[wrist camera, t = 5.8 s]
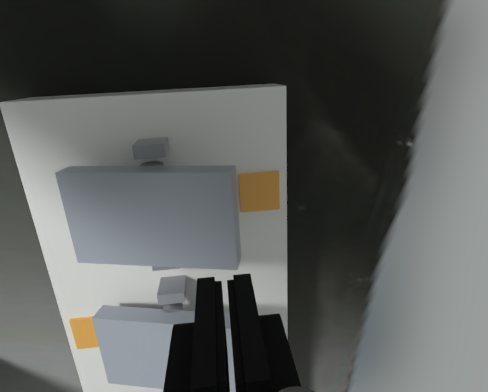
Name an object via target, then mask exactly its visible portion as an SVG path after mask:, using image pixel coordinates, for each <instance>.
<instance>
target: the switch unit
mask: <svg viewBox="0 0 488 392" xmlns="http://www.w3.org/2000/svg"><path fill="white" fill-rule="evenodd" d="M0 108H1V112H2V115H3V119H4V122H5V125H6V129H7V132H8V136H9V139H10V142H11V146H12V149H13V153H14V156H15V160H16V163H17V166H18V170H19V173H20V177H21V180H22V183H23V187H24V190H25V194H26V197H27V201H28V204H29V207H30V211H31V214H32V218H33V221H34V224H35V228H36V231H37V235H38V238H39V242H40V245H41V248H42V252H43V255H44V259H45V262H46V265H47V269H48V272H49V276H50V279H51V283H52V286H53V289H54V293H55V296H56V300H57V303H58V306H59V310H60V313H61V317H62V320H63V324H64V327H65V330H66V334H67V337H68V341H69V344H70V347H71V351H72V354H73V358H74V361H75V364H76V368H77V371H78V375H79V378H80V382H81V385H82V388H83V392H163V389H157V388H148V387H139V386H129V385H120V384H111V383H108V380H107V376H106V372H105V368H104V364H103V360H102V356H101V352H100V348H99V344H98V340H97V336H96V333H95V329H94V325H93V321H92V317H93V316H94V315H95V314H96V313H97V311H98V310H99V309H100V308H101V307H102V305H110V306H124V307H139V308H153V309H163V306H164V305H166V304H175V303H182V304H183V310H184V311H195V303H196V287H197V278H206V277H215V281H222V293H223V304H224V313H226V314H230V313H229V300H228V287H227V280H233V275H238V274H249V273H250V275H251V280H252V285H253V290H254V295H255V300H256V305H257V310H258V315H269V314H278V313H279V314H280V316H281V319H282V322H283V326H284V329H285V333H286V336H287V340H288V314H287V125H286V86H284V85H279V84H275V83H274V84H256V85H238V86H221V87H203V88H185V89H168V90H150V91H132V92H115V93H97V94H80V95H62V96H44V97H30V98H23V99H17V100H11V101H5V102H0ZM151 161H161V162H163V163H164V166H213V165H236V178H237V195H238V211H239V228H240V245H241V260H240V264H239V267H238V270H222V269H201V268H180V267H158V266H137V265H116V264H95V263H78V262H77V258H76V254H75V250H74V246H73V242H72V238H71V234H70V230H69V226H68V223H67V219H66V215H65V211H64V207H63V203H62V199H61V195H60V191H59V187H58V183H57V179H56V175H55V172H58V171H60V170H62V169H64V168H67V167H69V166H140V165H141V164H142V163H146V162H151Z"/></svg>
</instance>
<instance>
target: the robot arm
mask: <svg viewBox="0 0 488 392" xmlns="http://www.w3.org/2000/svg"><path fill="white" fill-rule="evenodd" d="M227 287H228V300H229V313H230V326H231V338H232V351H233V364H234V376H235V389H236V392H315V391H312V390H310V389H308V388H304V387H301V385H300V381H299V378H298V374H297V371H296V367H295V364H294V360H293V357H292V354H291V350H290V347H289V343H288V340H287V336H286V333H285V329H284V326H283V322H282V319H281V316H280V314H279V313H278V314H269V315H258V310H257V305H256V300H255V295H254V290H253V285H252V280H251V275H250V273H249V274H238V275H233V280H227ZM163 392H230V383H229V367H228V352H227V340H226V328H225V316H224V304H223V293H222V281H215V277H206V278H197V287H196V303H195V318H194V322H191V323H182V324H174V325H173V329H172V335H171V341H170V348H169V355H168V362H167V369H166V375H165V382H164V389H163Z"/></svg>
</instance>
